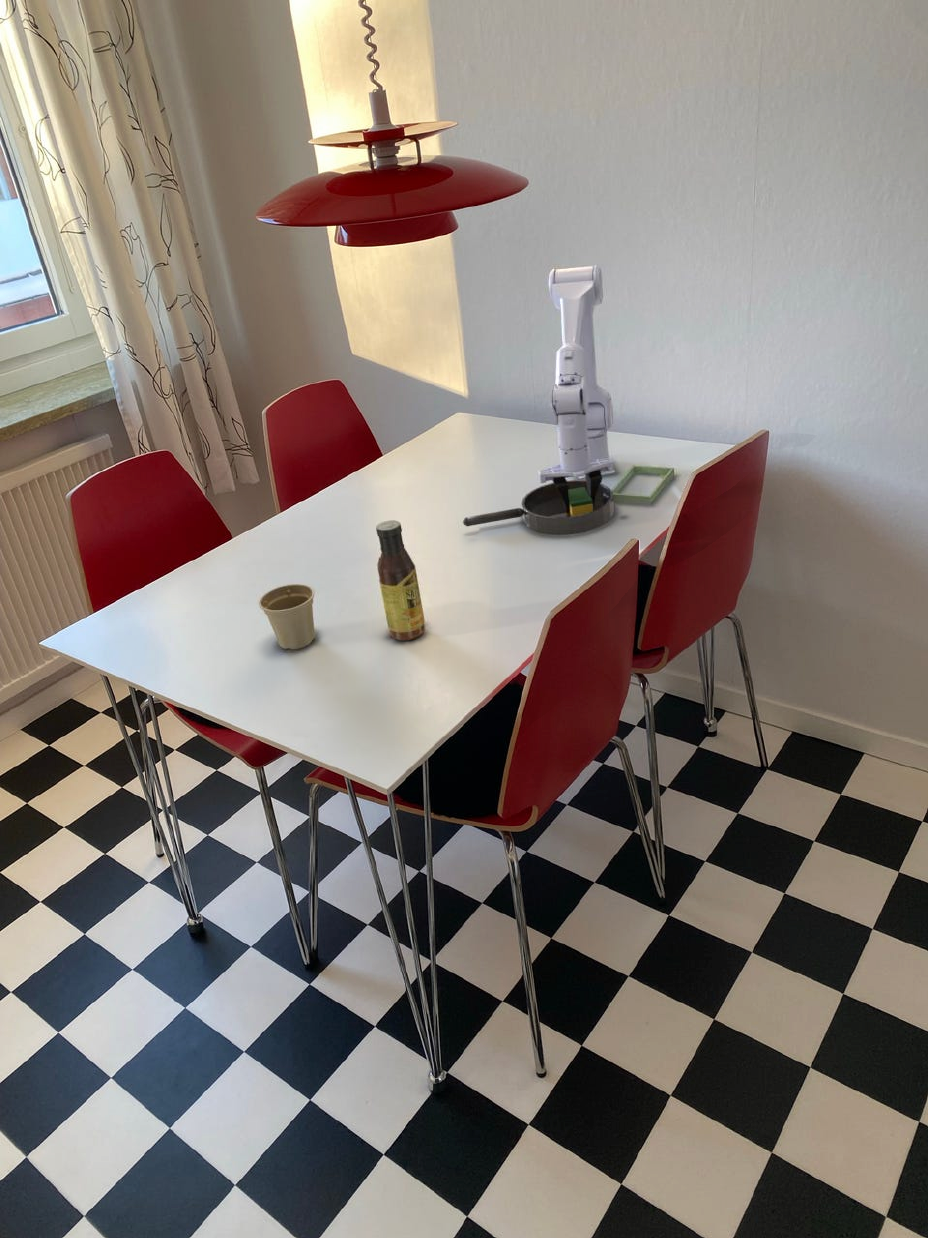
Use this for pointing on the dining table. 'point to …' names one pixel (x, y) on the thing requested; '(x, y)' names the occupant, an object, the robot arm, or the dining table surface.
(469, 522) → the pan handle
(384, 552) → the sauce bottle
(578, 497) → the sponge
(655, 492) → the sponge tray
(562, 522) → the pan
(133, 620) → the dining table surface
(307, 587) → the flower pot
